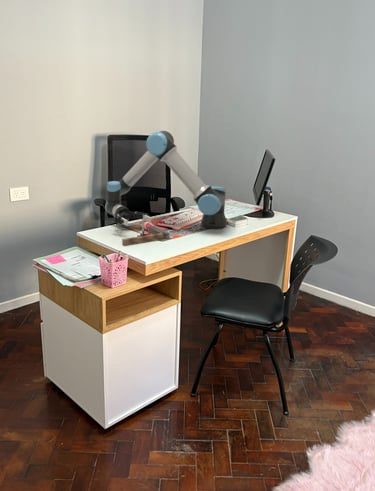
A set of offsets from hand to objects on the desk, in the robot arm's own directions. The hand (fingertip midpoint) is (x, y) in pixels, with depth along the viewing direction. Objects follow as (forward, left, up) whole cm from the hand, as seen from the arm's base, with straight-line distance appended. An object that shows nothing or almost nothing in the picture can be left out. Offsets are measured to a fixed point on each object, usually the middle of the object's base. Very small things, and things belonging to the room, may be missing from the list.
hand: (139, 221), depth 229 cm
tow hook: (-3, +3, -8) cm, 10 cm away
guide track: (+2, +3, -8) cm, 9 cm away
